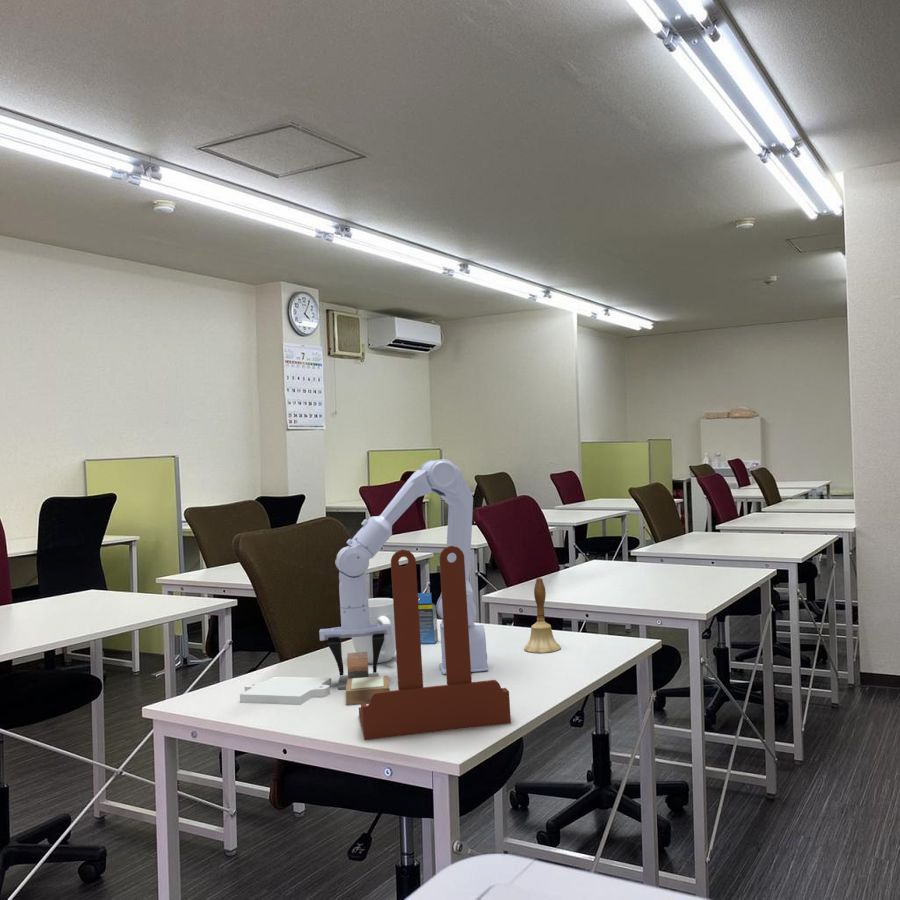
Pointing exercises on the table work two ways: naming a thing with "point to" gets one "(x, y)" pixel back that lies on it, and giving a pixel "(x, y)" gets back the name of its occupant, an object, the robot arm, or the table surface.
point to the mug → (378, 614)
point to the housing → (357, 665)
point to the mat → (343, 679)
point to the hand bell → (541, 626)
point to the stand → (365, 688)
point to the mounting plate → (286, 690)
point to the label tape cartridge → (427, 619)
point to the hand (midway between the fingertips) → (358, 672)
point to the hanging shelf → (413, 702)
